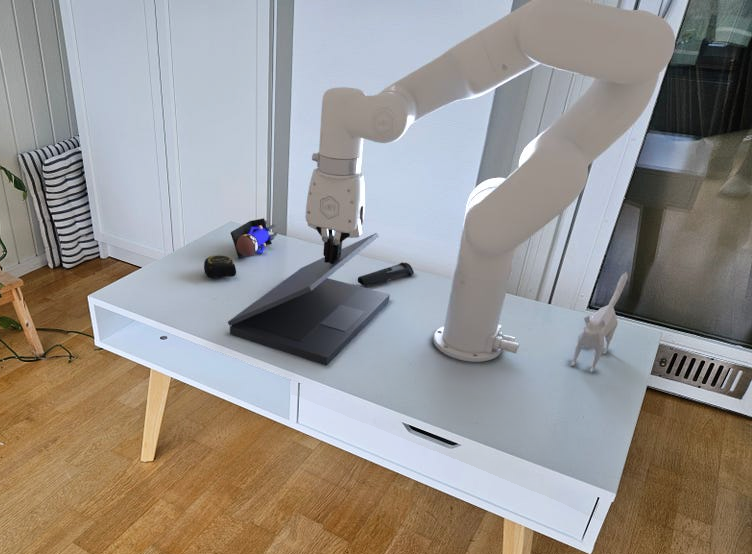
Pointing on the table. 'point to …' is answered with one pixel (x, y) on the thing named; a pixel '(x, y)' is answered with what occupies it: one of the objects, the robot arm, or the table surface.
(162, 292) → the table surface
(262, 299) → the laptop screen
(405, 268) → the electric trimmer
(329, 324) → the dark grey flat slab
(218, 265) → the tape measure
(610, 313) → the cat figurine
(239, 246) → the character figurine
